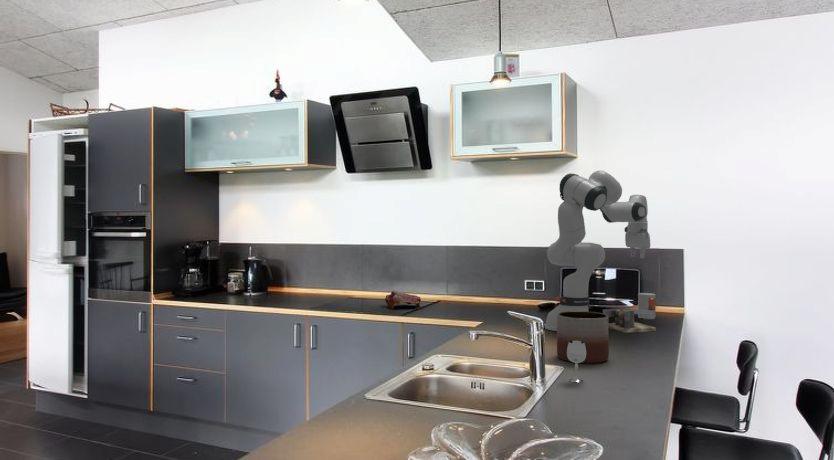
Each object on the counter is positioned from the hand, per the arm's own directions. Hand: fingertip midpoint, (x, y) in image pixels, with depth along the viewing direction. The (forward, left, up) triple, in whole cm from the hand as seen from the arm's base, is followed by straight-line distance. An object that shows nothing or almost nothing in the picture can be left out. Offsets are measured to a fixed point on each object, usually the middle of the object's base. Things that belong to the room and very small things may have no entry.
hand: (637, 257), depth 292 cm
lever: (-13, -13, -26) cm, 31 cm away
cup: (+12, +10, -31) cm, 35 cm away
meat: (-98, +76, -32) cm, 128 cm away
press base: (-14, -16, -31) cm, 37 cm away
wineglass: (-81, -90, -31) cm, 125 cm away
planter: (-64, -63, -31) cm, 95 cm away
